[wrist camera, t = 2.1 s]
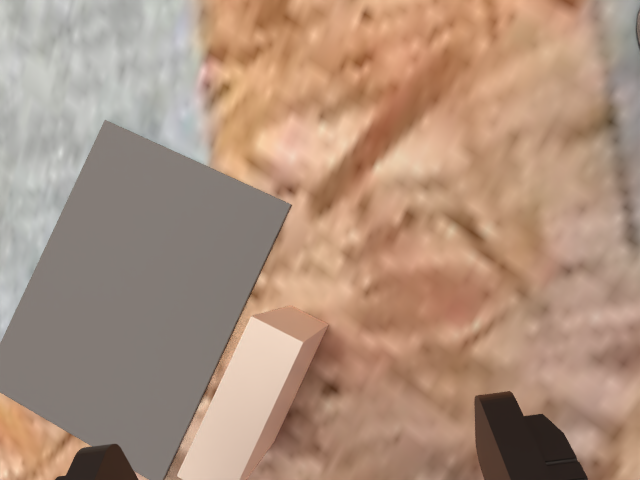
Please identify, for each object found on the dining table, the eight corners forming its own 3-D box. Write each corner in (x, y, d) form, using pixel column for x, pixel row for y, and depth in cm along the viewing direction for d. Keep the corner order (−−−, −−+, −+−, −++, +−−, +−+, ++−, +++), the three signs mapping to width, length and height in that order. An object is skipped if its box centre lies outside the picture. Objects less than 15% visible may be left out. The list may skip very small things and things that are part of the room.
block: (328, 324, 35) (303, 342, 25) (274, 441, 35) (227, 505, 25) (290, 305, 36) (251, 316, 26) (236, 421, 36) (176, 476, 26)
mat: (291, 204, 36) (290, 204, 36) (161, 484, 36) (159, 485, 36) (107, 121, 39) (105, 119, 38) (-15, 381, 39) (-18, 381, 38)
